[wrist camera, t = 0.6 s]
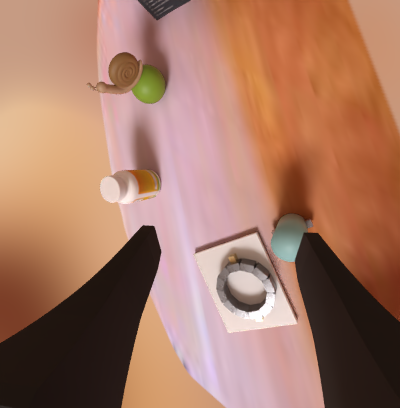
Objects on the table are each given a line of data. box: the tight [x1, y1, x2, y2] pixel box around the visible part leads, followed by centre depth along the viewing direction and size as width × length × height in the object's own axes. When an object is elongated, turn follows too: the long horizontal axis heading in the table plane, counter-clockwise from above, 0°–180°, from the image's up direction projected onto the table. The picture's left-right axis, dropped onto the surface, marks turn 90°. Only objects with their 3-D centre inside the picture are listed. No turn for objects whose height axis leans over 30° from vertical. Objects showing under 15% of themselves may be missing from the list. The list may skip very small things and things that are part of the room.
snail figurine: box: [87, 52, 165, 104], centre depth 32 cm, size 5×6×12 cm
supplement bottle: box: [100, 170, 161, 204], centre depth 37 cm, size 5×5×10 cm
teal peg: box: [271, 213, 313, 262], centre depth 29 cm, size 4×5×8 cm
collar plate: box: [193, 232, 298, 333], centre depth 36 cm, size 15×12×3 cm
